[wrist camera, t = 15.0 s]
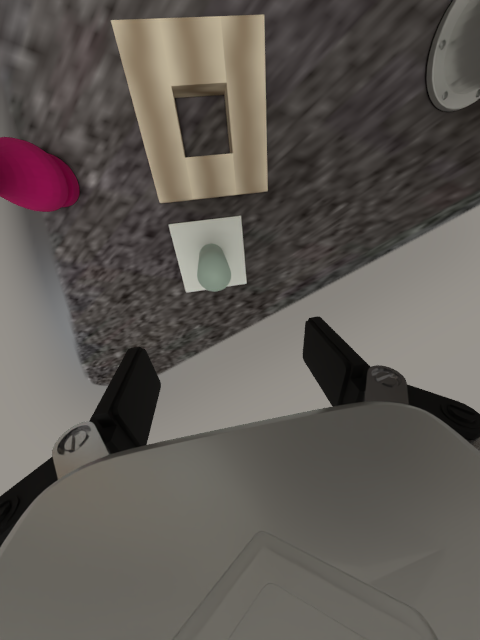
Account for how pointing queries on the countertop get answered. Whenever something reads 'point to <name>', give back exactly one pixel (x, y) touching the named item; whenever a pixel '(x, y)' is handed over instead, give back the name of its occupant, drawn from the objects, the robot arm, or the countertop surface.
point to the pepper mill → (35, 177)
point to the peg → (213, 268)
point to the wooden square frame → (192, 81)
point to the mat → (205, 232)
